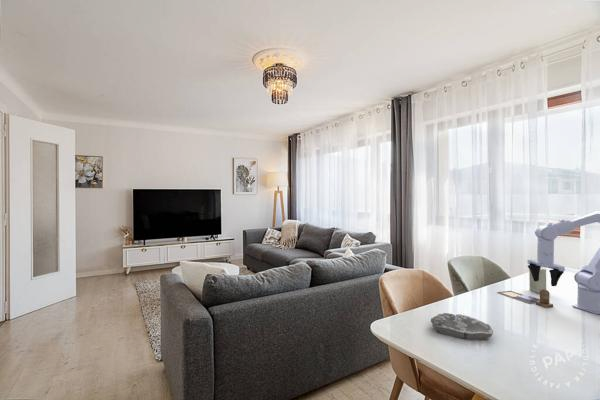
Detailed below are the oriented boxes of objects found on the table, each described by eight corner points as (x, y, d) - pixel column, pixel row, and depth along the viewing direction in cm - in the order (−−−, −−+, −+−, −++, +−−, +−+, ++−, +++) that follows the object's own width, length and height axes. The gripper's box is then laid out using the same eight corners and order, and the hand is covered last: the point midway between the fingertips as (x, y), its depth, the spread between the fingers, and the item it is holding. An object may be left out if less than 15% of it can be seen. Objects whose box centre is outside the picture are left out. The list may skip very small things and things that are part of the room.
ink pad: (541, 302, 140) (541, 299, 140) (529, 303, 138) (529, 300, 138) (526, 297, 147) (526, 294, 147) (515, 298, 145) (515, 295, 145)
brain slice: (482, 324, 115) (482, 316, 115) (498, 345, 99) (498, 336, 99) (427, 318, 121) (427, 310, 121) (432, 337, 105) (433, 328, 105)
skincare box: (546, 293, 152) (547, 269, 152) (537, 293, 153) (538, 269, 152) (537, 289, 159) (537, 266, 159) (528, 289, 159) (528, 266, 159)
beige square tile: (527, 297, 147) (527, 296, 147) (513, 298, 144) (513, 297, 144) (510, 291, 155) (510, 290, 155) (496, 292, 153) (496, 291, 153)
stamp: (553, 306, 134) (553, 290, 134) (545, 307, 133) (546, 291, 133) (542, 303, 138) (543, 287, 138) (535, 304, 137) (535, 288, 137)
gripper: (522, 250, 141) (522, 279, 141) (556, 256, 127) (555, 288, 127) (534, 249, 143) (533, 278, 143) (568, 255, 129) (567, 287, 129)
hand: (544, 283), depth 135 cm, fingers open, 7 cm apart
